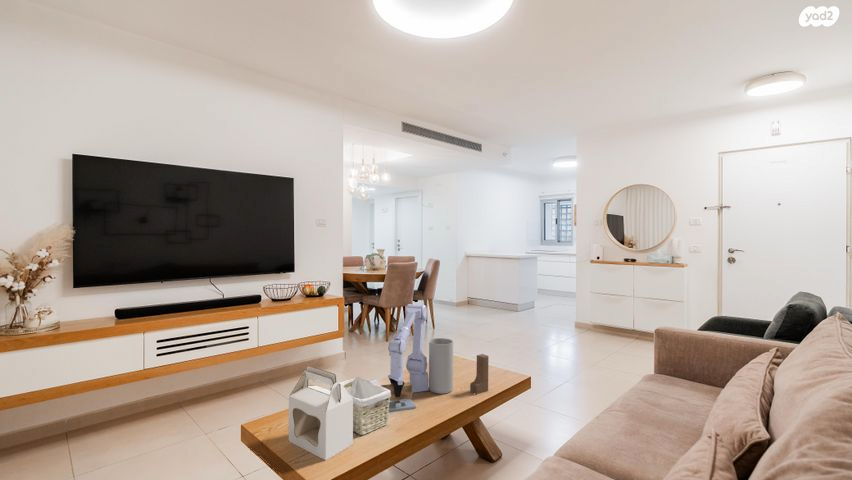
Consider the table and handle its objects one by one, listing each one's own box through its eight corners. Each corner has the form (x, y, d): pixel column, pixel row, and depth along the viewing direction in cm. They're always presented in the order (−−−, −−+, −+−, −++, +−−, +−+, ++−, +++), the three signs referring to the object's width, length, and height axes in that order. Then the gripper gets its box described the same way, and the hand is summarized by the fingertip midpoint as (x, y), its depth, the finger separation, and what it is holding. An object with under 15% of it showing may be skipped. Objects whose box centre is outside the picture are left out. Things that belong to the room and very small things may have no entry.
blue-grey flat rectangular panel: (410, 400, 187) (410, 398, 187) (415, 408, 179) (415, 406, 179) (377, 404, 182) (377, 402, 182) (381, 413, 174) (381, 410, 174)
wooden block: (476, 394, 195) (476, 358, 195) (469, 391, 198) (470, 356, 198) (488, 390, 200) (488, 355, 200) (482, 387, 204) (482, 353, 204)
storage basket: (327, 418, 168) (327, 384, 168) (358, 407, 180) (358, 375, 180) (360, 439, 151) (361, 401, 151) (392, 425, 163) (392, 389, 163)
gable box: (287, 441, 149) (288, 368, 149) (315, 427, 160) (316, 359, 160) (325, 461, 136) (326, 381, 136) (353, 445, 147) (354, 371, 147)
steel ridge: (397, 401, 184) (397, 396, 184) (400, 407, 178) (400, 402, 178) (392, 401, 183) (392, 397, 183) (395, 407, 177) (395, 403, 177)
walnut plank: (409, 394, 184) (409, 382, 184) (411, 398, 181) (411, 385, 181) (380, 398, 180) (380, 385, 180) (382, 401, 176) (382, 388, 176)
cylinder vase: (453, 394, 195) (453, 344, 195) (428, 394, 195) (428, 344, 195) (452, 385, 207) (452, 338, 207) (429, 384, 208) (429, 338, 208)
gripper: (384, 361, 186) (384, 390, 186) (391, 371, 172) (391, 402, 172) (399, 360, 188) (398, 388, 188) (407, 370, 174) (407, 400, 175)
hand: (396, 395), depth 180 cm, fingers closed on walnut plank, 4 cm apart
